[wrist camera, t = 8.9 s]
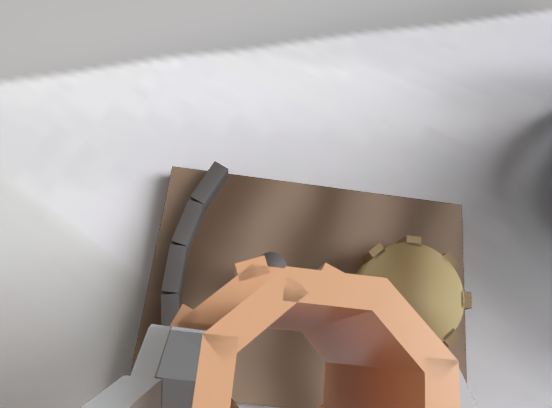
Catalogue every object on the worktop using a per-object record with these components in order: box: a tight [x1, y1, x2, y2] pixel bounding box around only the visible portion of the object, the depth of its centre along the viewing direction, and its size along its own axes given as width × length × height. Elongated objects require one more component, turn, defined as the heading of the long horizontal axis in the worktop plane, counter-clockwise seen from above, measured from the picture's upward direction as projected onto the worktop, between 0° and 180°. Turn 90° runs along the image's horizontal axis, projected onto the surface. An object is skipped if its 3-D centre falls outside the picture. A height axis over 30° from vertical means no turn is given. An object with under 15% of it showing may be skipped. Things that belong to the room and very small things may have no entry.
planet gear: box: [170, 255, 460, 408], centre depth 11 cm, size 8×8×8 cm
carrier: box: [130, 162, 471, 408], centre depth 26 cm, size 20×14×7 cm
